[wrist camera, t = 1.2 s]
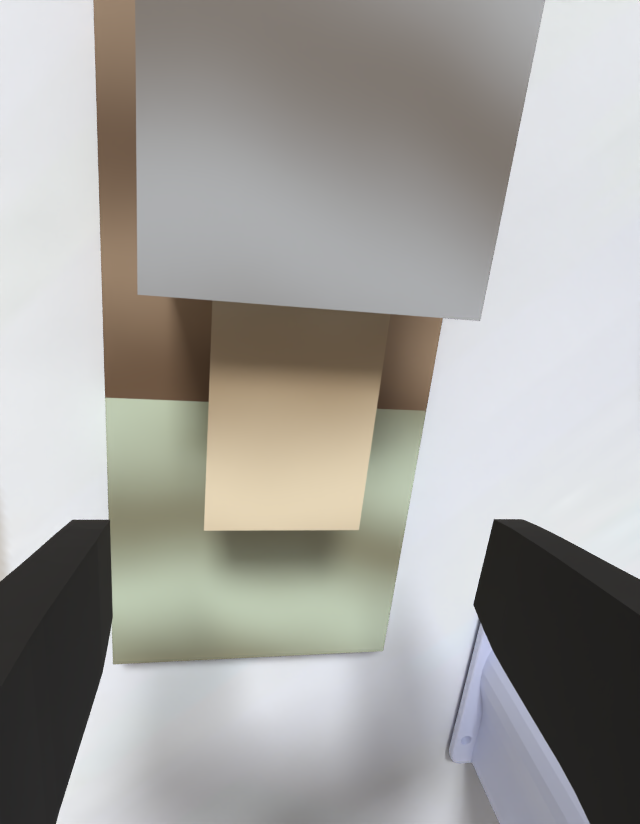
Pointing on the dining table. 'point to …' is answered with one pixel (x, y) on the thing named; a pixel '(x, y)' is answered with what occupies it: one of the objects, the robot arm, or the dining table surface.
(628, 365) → the dining table surface
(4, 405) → the dining table surface
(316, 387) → the maple bar
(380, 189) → the tunnel deck
